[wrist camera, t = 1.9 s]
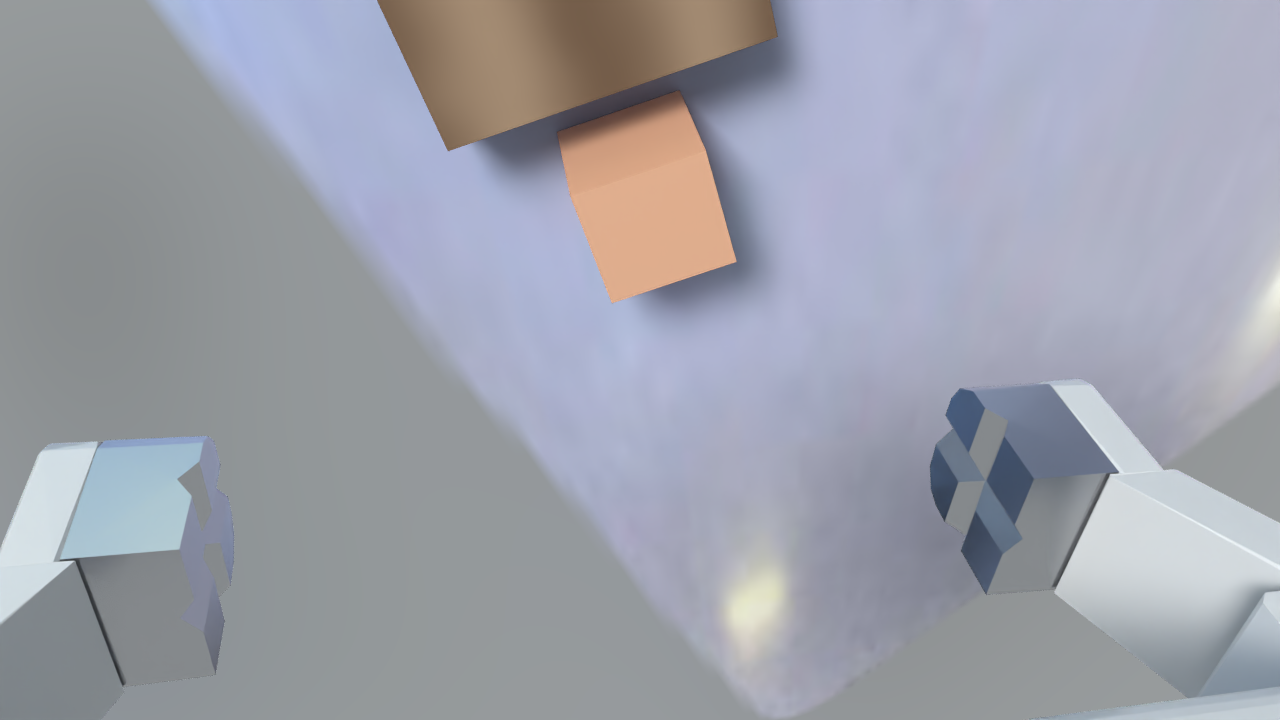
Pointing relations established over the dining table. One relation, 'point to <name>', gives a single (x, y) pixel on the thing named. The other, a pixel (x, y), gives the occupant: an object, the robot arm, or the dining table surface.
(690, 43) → the base slab
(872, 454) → the dining table surface
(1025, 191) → the dining table surface
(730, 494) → the dining table surface
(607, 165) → the cube
